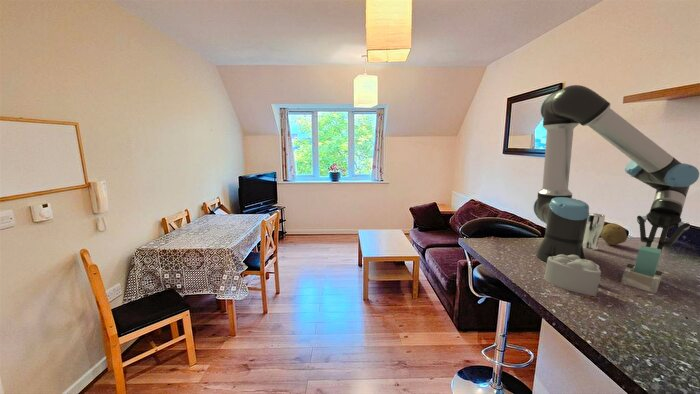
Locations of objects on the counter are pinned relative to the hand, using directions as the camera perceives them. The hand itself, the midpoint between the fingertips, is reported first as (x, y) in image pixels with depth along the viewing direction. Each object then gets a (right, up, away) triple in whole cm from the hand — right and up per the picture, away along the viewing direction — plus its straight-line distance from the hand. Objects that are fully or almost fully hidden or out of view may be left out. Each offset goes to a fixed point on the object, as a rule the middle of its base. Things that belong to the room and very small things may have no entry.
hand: (650, 259), depth 95 cm
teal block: (-6, -5, -4) cm, 9 cm away
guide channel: (-9, -7, -5) cm, 12 cm away
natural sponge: (+17, -1, +33) cm, 37 cm away
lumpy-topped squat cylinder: (-32, -7, -6) cm, 33 cm away
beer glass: (+3, -1, +28) cm, 28 cm away
